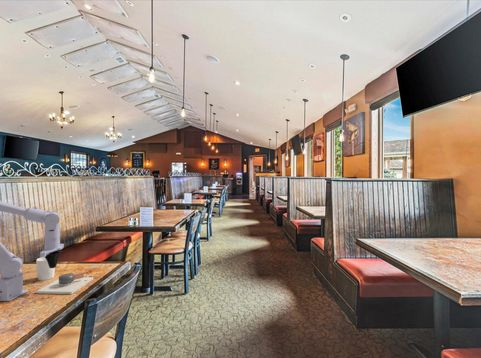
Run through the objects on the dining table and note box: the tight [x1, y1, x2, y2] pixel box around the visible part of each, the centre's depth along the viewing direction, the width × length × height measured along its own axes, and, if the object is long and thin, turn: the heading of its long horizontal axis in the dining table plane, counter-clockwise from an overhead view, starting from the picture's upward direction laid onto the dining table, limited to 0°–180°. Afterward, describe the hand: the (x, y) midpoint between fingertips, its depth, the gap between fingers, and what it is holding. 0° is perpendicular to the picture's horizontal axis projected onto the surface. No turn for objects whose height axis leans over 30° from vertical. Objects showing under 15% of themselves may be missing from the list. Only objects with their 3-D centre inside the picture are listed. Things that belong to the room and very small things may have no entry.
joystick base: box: [35, 276, 94, 295], centre depth 123 cm, size 16×16×2 cm
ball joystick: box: [58, 271, 85, 284], centre depth 124 cm, size 10×6×2 cm, turn 132°
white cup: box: [35, 257, 56, 281], centre depth 133 cm, size 8×8×10 cm
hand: (52, 267), depth 121 cm, fingers closed
